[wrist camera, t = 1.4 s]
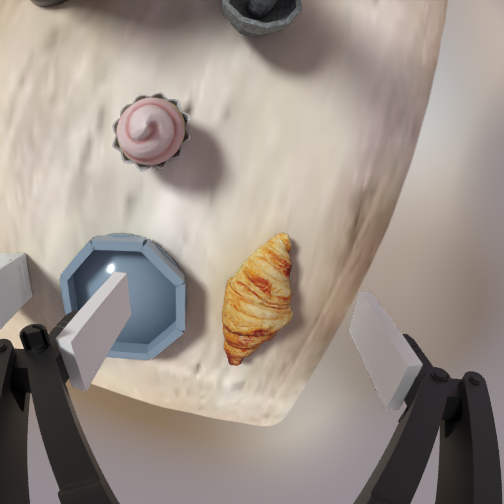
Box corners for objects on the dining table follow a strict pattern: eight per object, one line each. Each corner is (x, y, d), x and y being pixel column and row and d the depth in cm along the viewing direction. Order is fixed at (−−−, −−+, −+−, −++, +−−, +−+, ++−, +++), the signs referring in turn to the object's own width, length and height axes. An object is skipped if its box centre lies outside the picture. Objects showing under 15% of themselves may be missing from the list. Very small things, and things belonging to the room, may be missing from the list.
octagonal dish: (64, 231, 36) (54, 237, 32) (188, 235, 39) (187, 242, 36) (79, 341, 41) (72, 354, 37) (187, 349, 44) (187, 362, 41)
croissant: (257, 219, 44) (240, 220, 37) (322, 244, 42) (319, 250, 34) (214, 342, 48) (193, 362, 41) (270, 367, 46) (257, 392, 39)
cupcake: (159, 185, 37) (146, 193, 27) (108, 141, 34) (81, 135, 24) (207, 130, 36) (212, 120, 27) (156, 86, 33) (144, 63, 23)
